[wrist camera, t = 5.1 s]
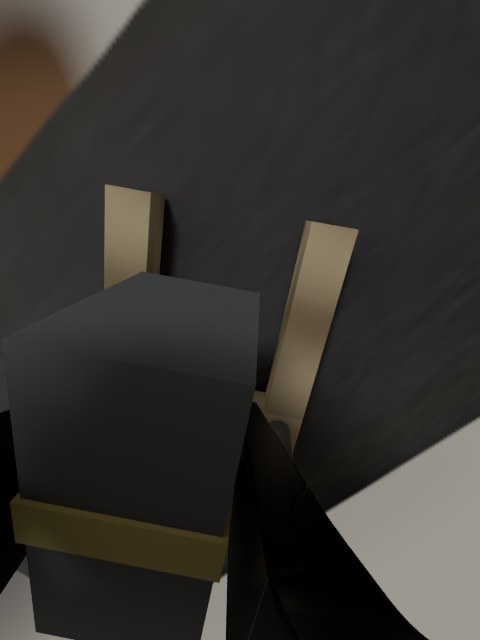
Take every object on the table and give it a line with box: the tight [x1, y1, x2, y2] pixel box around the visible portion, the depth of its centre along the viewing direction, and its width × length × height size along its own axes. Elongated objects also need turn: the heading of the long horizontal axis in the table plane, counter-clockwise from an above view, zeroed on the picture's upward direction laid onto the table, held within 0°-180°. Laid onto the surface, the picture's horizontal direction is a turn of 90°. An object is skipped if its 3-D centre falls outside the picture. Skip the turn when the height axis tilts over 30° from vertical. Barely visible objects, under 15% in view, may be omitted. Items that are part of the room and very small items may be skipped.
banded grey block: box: [1, 271, 260, 640], centre depth 8 cm, size 4×7×5 cm, turn 170°
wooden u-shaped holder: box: [104, 185, 358, 461], centre depth 15 cm, size 14×11×5 cm
